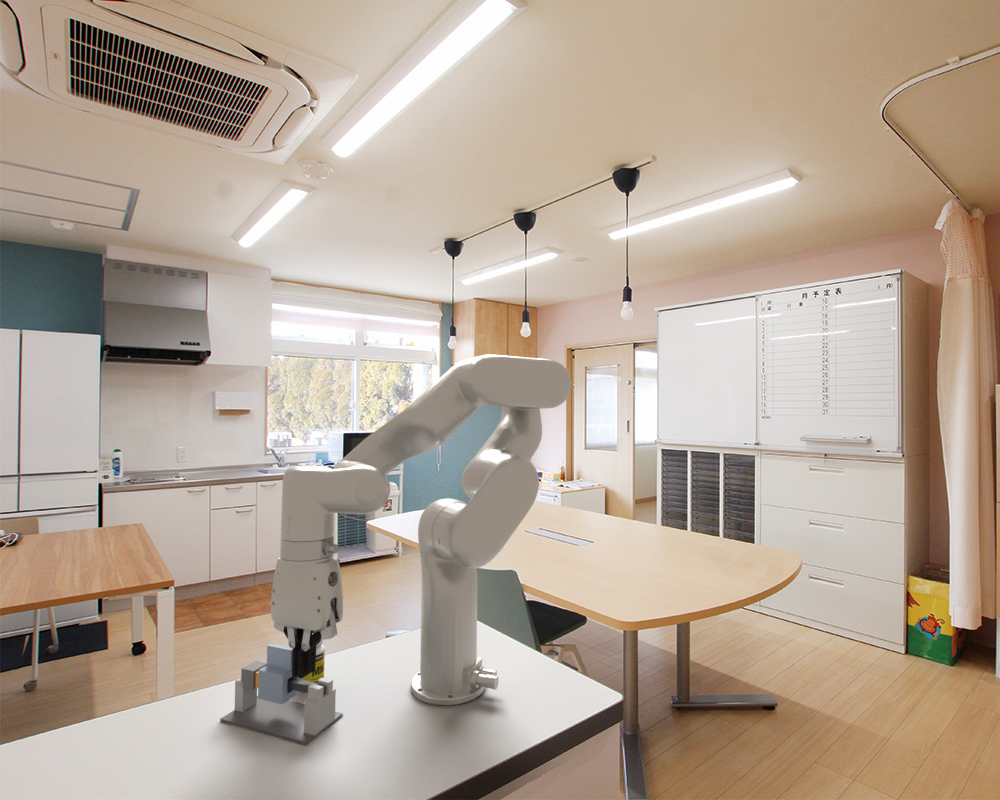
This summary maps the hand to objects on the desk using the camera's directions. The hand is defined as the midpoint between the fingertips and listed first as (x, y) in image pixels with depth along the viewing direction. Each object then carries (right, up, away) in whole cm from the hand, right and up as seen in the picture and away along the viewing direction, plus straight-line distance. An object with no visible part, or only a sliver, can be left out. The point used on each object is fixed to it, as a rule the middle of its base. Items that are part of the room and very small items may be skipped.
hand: (303, 673), depth 80 cm
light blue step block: (-4, -4, +2) cm, 6 cm away
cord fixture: (-4, -8, +1) cm, 9 cm away
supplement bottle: (-3, -8, +11) cm, 14 cm away
